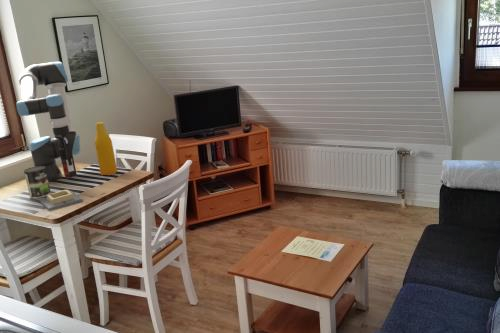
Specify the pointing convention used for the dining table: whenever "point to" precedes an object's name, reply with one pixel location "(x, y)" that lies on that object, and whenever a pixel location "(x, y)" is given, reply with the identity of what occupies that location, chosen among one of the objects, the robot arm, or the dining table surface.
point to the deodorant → (64, 164)
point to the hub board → (60, 199)
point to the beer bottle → (104, 151)
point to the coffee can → (37, 182)
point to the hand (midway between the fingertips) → (69, 169)
